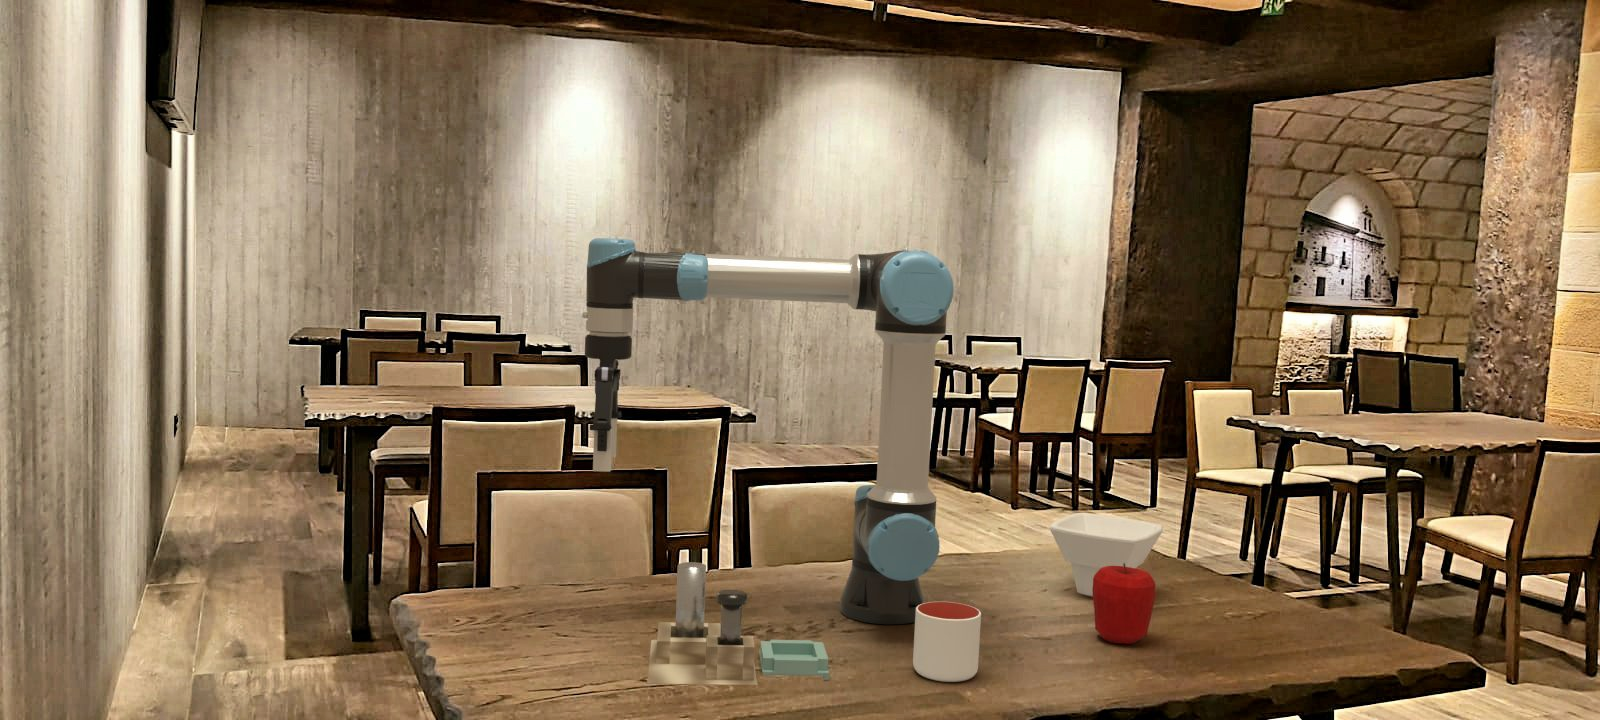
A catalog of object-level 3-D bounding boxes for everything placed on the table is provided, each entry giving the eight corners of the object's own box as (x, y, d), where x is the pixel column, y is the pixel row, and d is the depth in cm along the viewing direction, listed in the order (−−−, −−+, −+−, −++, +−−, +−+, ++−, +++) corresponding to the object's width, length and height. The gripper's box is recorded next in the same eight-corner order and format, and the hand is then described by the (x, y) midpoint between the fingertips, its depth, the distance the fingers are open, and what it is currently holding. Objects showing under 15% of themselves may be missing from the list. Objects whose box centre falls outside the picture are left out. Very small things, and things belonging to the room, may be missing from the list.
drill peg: (702, 649, 202) (706, 562, 200) (703, 658, 197) (706, 569, 196) (674, 649, 201) (677, 561, 200) (674, 658, 197) (677, 569, 196)
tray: (821, 658, 202) (822, 640, 202) (828, 680, 192) (829, 660, 192) (758, 657, 201) (759, 639, 201) (762, 679, 191) (763, 660, 191)
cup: (907, 662, 202) (910, 600, 202) (969, 663, 203) (973, 601, 202) (918, 684, 193) (922, 619, 192) (984, 685, 193) (987, 620, 193)
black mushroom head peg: (743, 649, 193) (746, 590, 192) (745, 659, 189) (747, 598, 188) (714, 649, 193) (717, 589, 192) (715, 658, 188) (717, 597, 188)
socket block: (750, 646, 207) (752, 611, 207) (757, 690, 187) (758, 651, 186) (651, 644, 206) (652, 609, 205) (646, 688, 185) (648, 649, 185)
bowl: (1165, 594, 250) (1170, 524, 249) (1133, 616, 234) (1139, 541, 233) (1073, 578, 260) (1078, 510, 259) (1037, 597, 244) (1042, 525, 243)
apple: (1102, 650, 213) (1107, 570, 212) (1079, 631, 223) (1084, 555, 222) (1162, 650, 215) (1168, 570, 213) (1137, 631, 225) (1142, 555, 223)
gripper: (591, 327, 219) (588, 450, 221) (578, 338, 195) (574, 476, 196) (636, 329, 220) (632, 451, 222) (627, 340, 195) (623, 478, 197)
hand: (604, 463), depth 209 cm, fingers open, 13 cm apart
